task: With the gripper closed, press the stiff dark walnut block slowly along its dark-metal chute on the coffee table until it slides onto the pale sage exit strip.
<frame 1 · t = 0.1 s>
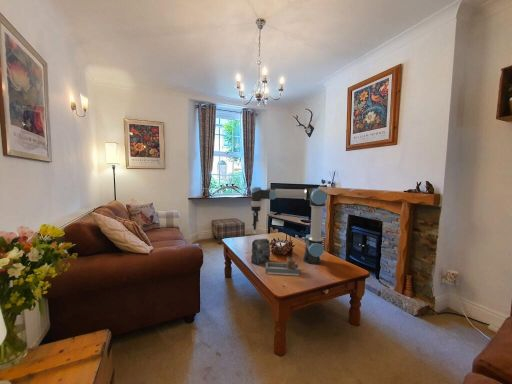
hand: (255, 231, 186), 28 cm above the table, fingers open, 13 cm apart
stone block: (261, 261, 194), on the table
chute: (282, 270, 177), on the table
walnut block: (290, 264, 176), point 6 cm above the table, slide at 0.0 cm
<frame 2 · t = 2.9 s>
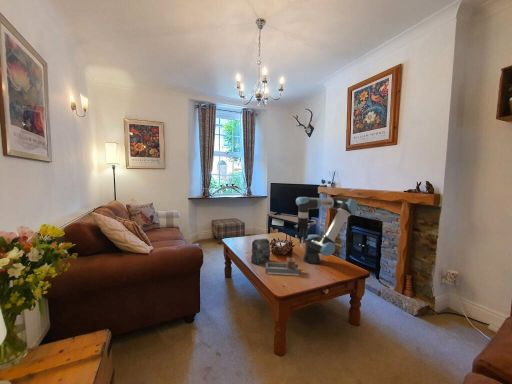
hand: (301, 247, 174), 20 cm above the table, fingers closed
nothing on the table moved.
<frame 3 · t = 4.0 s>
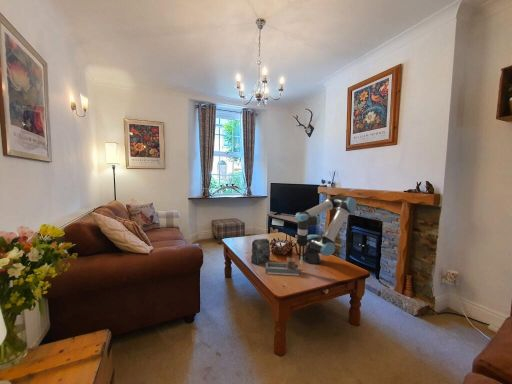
hand: (301, 263, 175), 7 cm above the table, fingers closed
nothing on the table moved.
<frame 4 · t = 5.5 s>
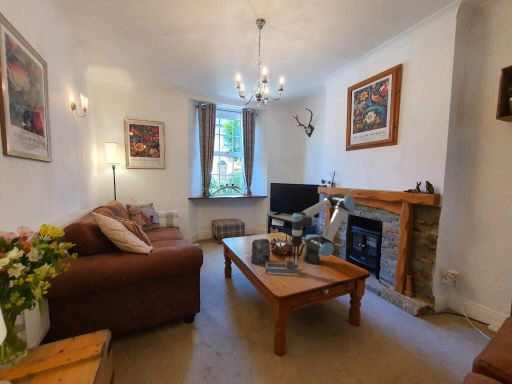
hand: (295, 264, 175), 6 cm above the table, fingers closed
walnut block: (289, 264, 176), point 6 cm above the table, slide at 0.9 cm, touching gripper
everything else where it was.
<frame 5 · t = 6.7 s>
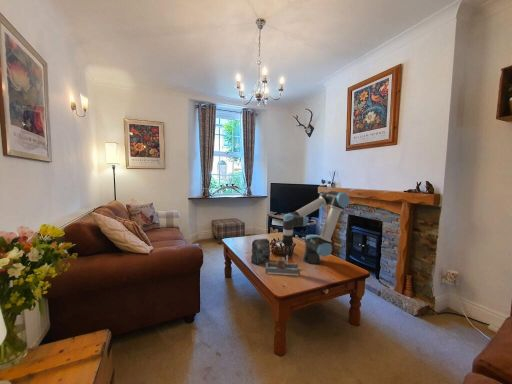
hand: (286, 263, 176), 6 cm above the table, fingers closed
walnut block: (280, 264, 176), point 6 cm above the table, slide at 7.9 cm, touching gripper
everything else where it was.
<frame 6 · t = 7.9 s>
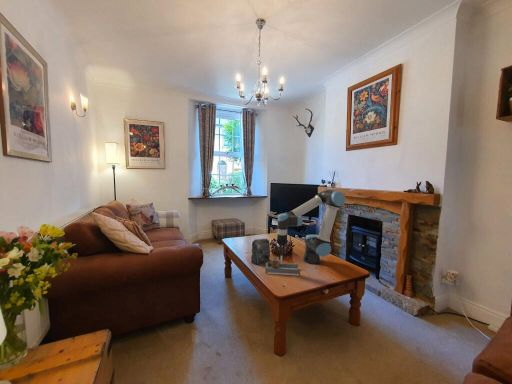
hand: (281, 263, 176), 6 cm above the table, fingers closed
walnut block: (275, 263, 177), point 5 cm above the table, slide at 12.2 cm, touching gripper
everything else where it was.
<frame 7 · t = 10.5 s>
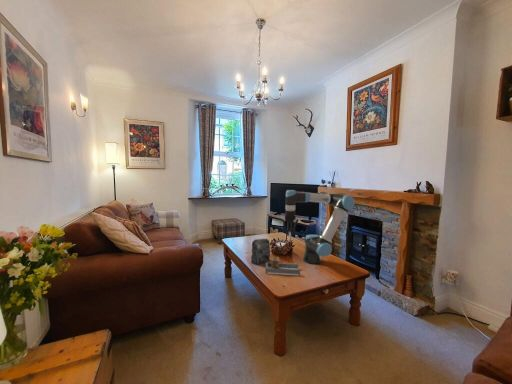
hand: (289, 240, 175), 25 cm above the table, fingers closed
walnut block: (275, 263, 177), point 5 cm above the table, slide at 12.3 cm
everything else where it was.
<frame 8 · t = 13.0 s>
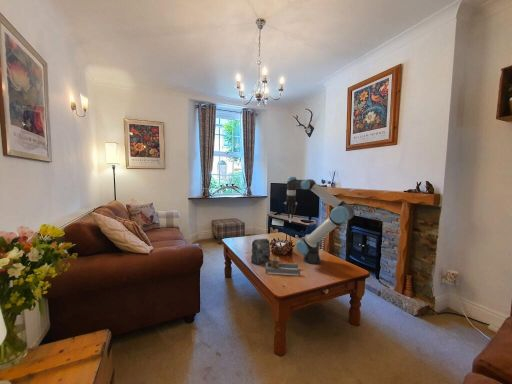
hand: (290, 221, 195), 34 cm above the table, fingers closed
nothing on the table moved.
at the end: walnut block slide at 12.3 cm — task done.
